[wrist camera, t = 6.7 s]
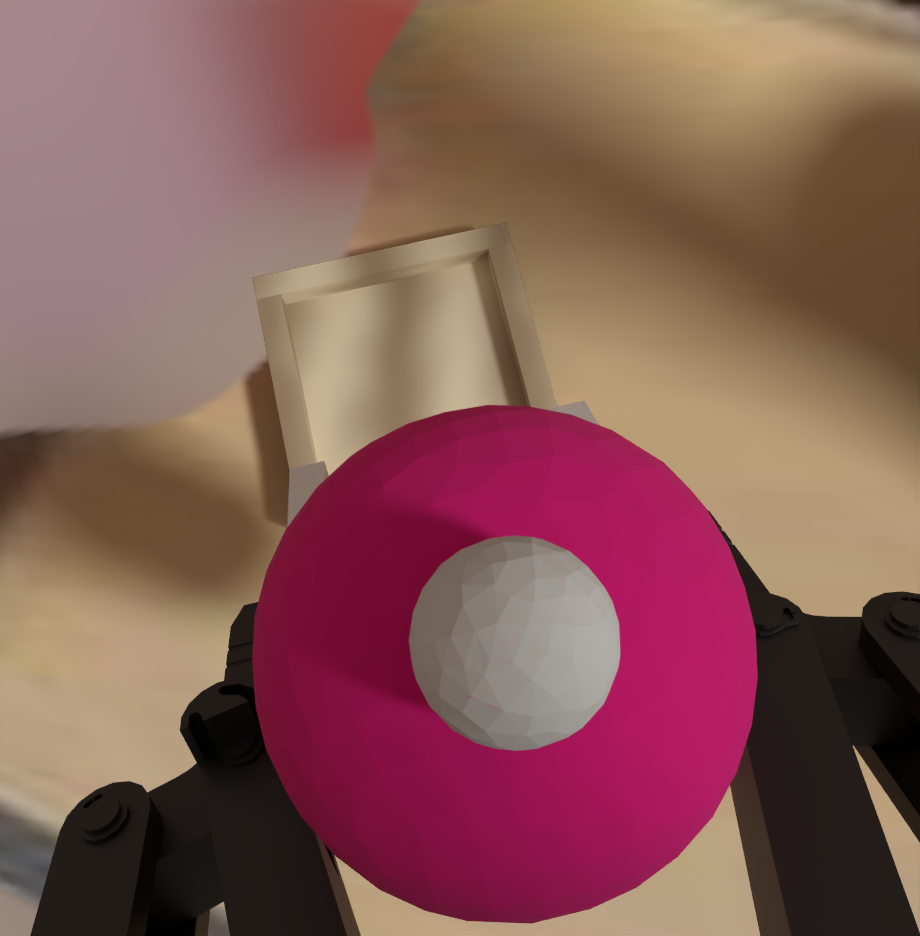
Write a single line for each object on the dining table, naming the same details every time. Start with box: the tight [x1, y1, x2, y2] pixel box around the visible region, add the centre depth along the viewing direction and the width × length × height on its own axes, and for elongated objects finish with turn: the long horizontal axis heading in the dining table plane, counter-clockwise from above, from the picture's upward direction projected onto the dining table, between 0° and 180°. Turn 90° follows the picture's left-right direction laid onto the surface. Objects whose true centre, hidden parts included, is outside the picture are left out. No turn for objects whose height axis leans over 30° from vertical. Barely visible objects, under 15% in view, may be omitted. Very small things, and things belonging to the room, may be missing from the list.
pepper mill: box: [252, 405, 758, 923], centre depth 16 cm, size 7×7×20 cm
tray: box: [253, 223, 557, 475], centre depth 41 cm, size 13×13×2 cm
